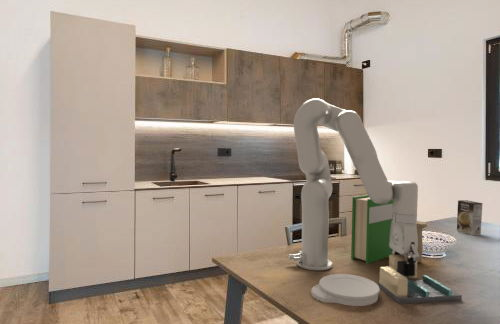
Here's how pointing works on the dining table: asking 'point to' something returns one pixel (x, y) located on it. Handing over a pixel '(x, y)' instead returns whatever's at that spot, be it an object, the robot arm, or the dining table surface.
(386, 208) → the hardback book
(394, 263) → the light wooden block
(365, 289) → the lid
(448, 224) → the dining table surface
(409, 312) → the dining table surface
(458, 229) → the coffee box
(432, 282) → the rail
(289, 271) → the dining table surface
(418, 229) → the handle
